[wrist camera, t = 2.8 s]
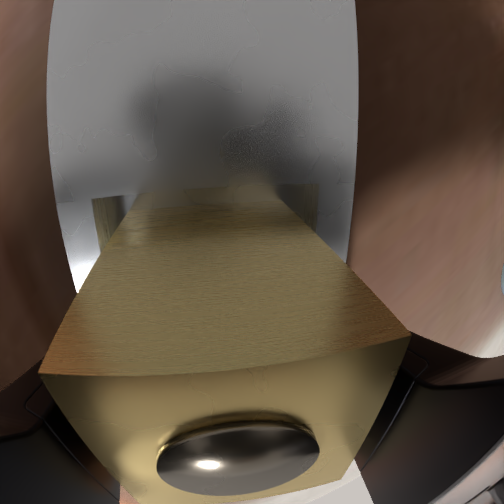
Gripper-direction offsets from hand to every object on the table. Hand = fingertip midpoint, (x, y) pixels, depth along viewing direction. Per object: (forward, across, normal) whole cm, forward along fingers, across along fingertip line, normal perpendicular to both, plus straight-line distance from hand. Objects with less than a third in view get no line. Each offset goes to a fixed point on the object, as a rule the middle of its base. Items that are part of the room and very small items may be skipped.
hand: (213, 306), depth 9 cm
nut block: (+2, 0, 0) cm, 2 cm away
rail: (+3, 0, -7) cm, 8 cm away
